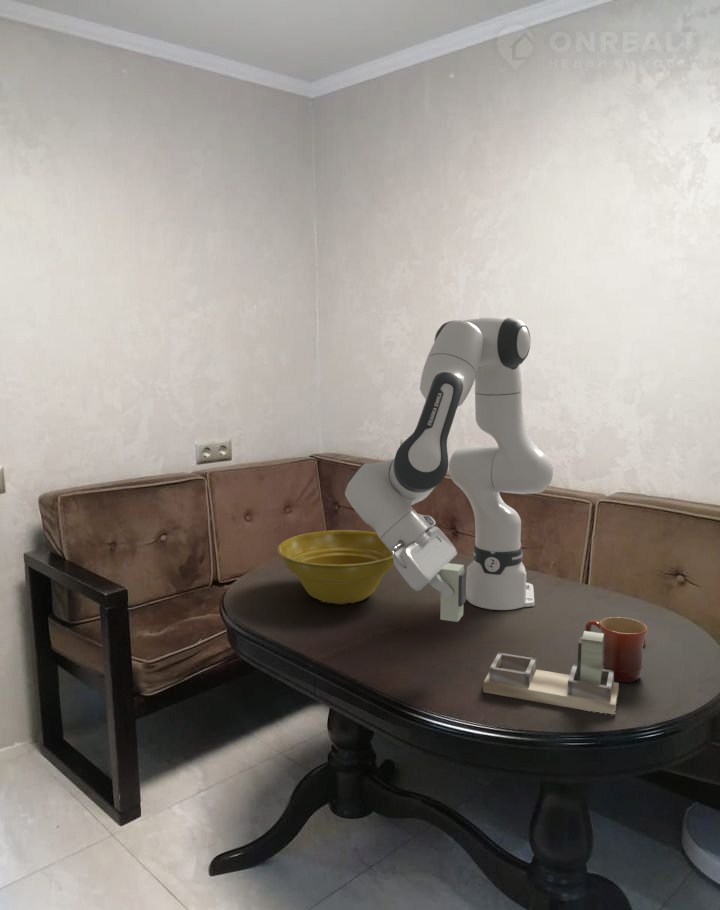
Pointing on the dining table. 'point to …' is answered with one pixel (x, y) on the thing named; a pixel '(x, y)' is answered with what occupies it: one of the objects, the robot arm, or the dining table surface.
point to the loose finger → (454, 604)
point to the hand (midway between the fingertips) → (455, 590)
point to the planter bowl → (337, 563)
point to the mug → (622, 646)
